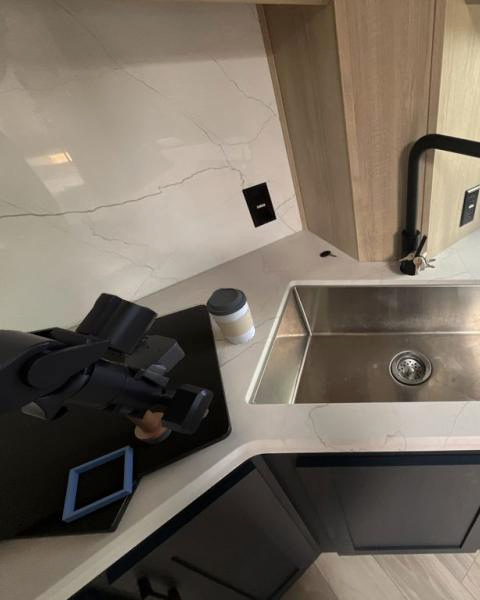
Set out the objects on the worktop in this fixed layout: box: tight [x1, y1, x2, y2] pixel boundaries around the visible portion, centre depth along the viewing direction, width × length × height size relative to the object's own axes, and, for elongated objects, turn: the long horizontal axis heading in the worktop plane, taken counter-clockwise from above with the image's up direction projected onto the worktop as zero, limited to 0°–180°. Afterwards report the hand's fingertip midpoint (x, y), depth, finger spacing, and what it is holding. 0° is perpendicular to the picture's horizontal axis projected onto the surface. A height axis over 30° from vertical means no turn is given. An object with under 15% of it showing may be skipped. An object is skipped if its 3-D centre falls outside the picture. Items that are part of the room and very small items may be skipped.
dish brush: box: [125, 409, 173, 446], centre depth 63 cm, size 6×6×12 cm
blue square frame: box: [61, 445, 134, 524], centre depth 59 cm, size 9×9×2 cm
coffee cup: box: [205, 287, 256, 345], centre depth 83 cm, size 9×9×15 cm
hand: (183, 406), depth 55 cm, fingers open, 9 cm apart
